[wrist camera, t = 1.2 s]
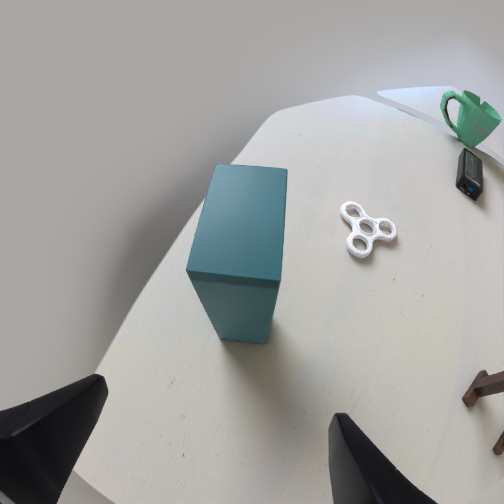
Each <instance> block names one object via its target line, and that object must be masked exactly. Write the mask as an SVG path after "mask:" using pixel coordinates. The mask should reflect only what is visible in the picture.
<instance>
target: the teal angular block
mask: <svg viewBox="0 0 504 504" xmlns="http://www.w3.org/2000/svg"><path fill="white" fill-rule="evenodd" d="M286 191H287V169H283V168H272V167H261V166H247V165H231V164H216V166H215V169H214V172H213V175H212V178H211V181H210V185H209V188H208V191H207V195H206V198H205V202H204V205H203V209H202V212H201V215H200V218H199V222H198V226H197V229H196V233H195V237H194V240H193V244H192V248H191V252H190V256H189V260H188V264H187V268H186V272H187V274H188V276H189V278H190V280H191V282H192V284H193V286H194V289H195V291H196V293H197V295H198V297H199V299H200V301H201V303H202V305H203V307H204V309H205V311H206V313H207V315H208V317H209V319H210V321H211V323H212V325H213V327H214V329H215V331H216V332H217V334H218V336H219V338H220V339H226V340H233V341H241V342H250V343H259V344H267V340H268V335H269V331H270V327H271V322H272V318H273V313H274V309H275V305H276V300H277V295H278V291H279V286H280V282H281V271H282V257H283V243H284V227H285V210H286Z"/></svg>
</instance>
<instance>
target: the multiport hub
mask: <svg viewBox="0 0 504 504" xmlns="http://www.w3.org/2000/svg"><path fill="white" fill-rule="evenodd" d="M456 187H457V188H459V189H460V190H461V191H463V192H464V193H465V194H467V195H468V196H469V197H471V198H472V199H473V200H475V201H476V200H477V198H478V197H479V196H480V194H481V193H482V192H483V171H482V160H481V159H479V158H478V157H477V156H475V155H474V154H473V153H471V152H470V151H469V150H467V149H466V148H464V149H463V151H462V152H461V154H460V156H459V162H458V171H457V179H456Z"/></svg>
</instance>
